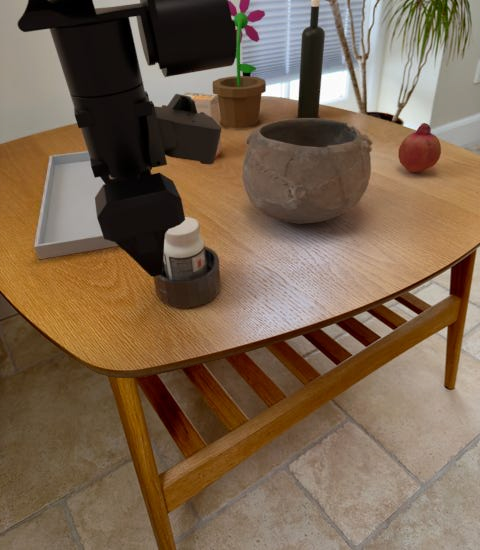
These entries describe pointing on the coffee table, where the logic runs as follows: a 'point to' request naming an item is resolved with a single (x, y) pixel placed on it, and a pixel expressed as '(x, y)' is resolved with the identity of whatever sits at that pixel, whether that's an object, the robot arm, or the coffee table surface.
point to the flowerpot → (241, 77)
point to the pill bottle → (184, 251)
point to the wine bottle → (311, 66)
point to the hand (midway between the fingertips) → (149, 249)
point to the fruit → (420, 150)
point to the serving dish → (69, 208)
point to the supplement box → (207, 108)
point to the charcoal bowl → (190, 285)
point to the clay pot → (306, 169)
